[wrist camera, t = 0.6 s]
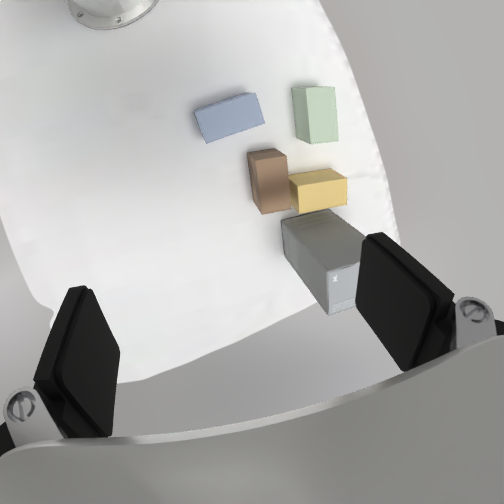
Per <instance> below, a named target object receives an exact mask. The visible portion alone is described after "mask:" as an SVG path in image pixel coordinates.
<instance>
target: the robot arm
mask: <svg viewBox="0 0 504 504" xmlns="http://www.w3.org/2000/svg"><path fill="white" fill-rule="evenodd" d="M157 2H158V0H68V4H69V9H70V11H71V13H72V15H73V17H74V18H75V19H76V20H77V21H78V22H80V23H81V24H83V25H85V26H87V27H89V28H93V29H101V30H106V29H114V28H118V27H122V26H125V25H127V24H130V23H132V22H134V21H136V20H137V19H139V18H141V17H142V16H143V15H145V14H146V13H147V12H149V11H150V10H151V9H152V8H153V7H154V6H155V4H156V3H157ZM81 15H83V16H82V17H81ZM119 20H121V22H120V23H118V21H119ZM453 297H454V293H453V292H452V291H451V290H450V289H448V288H447V287H446V286H445V285H444V284H443V283H442V282H441V281H439V279H437V278H436V277H435V276H434V275H433V274H432V273H431V272H429V271H428V270H427V269H426V268H425V267H424V266H423V265H422V264H420V263H419V262H418V261H417V260H416V259H415V258H413V257H412V256H411V255H410V254H409V253H407V252H406V251H405V250H404V249H403V248H402V247H400V246H399V245H398V244H397V243H396V242H394V241H393V240H392V239H391V238H389V237H388V236H387V235H386V234H385V233H383V232H379V233H374V234H368V235H367V236H366V238H365V239H364V240H363V241H362V247H361V257H360V266H359V274H358V282H357V289H356V296H355V304H356V307H357V309H358V311H359V312H360V313H361V315H362V316H363V317H364V319H365V320H366V322H367V323H368V324H369V326H370V327H371V328H372V330H373V331H374V333H375V334H376V335H377V337H378V338H379V340H380V341H381V342H382V344H383V345H384V347H385V348H386V349H387V351H388V352H389V354H390V355H391V356H392V358H393V359H394V361H395V362H396V364H397V365H398V367H399V368H400V369H401V370H402V371H404V373H402V374H399V375H397V376H395V377H392V378H390V379H387V380H385V381H383V382H380V383H377V384H374V385H372V386H369V387H366V388H363V389H361V390H358V391H355V392H352V393H349V394H346V395H343V396H340V397H337V398H334V399H331V400H328V401H324V402H321V403H318V404H314V405H311V406H307V407H304V408H300V409H297V410H293V411H289V412H285V413H281V414H277V415H273V416H269V417H265V418H260V419H256V420H251V421H246V422H241V423H236V424H231V425H224V426H219V427H213V428H206V429H200V430H193V431H185V432H177V433H168V434H157V435H145V436H129V437H109V438H108V436H111V435H112V429H113V416H114V404H115V394H116V384H117V376H118V368H119V360H120V350H119V346H118V344H117V342H116V340H115V338H114V336H113V334H112V332H111V330H110V328H109V326H108V324H107V321H106V319H105V317H104V315H103V313H102V311H101V308H100V306H99V304H98V302H97V299H96V297H95V295H94V292H93V290H92V289H88V288H87V287H86V286H85V285H83V286H77V287H72V288H69V290H68V292H67V294H66V296H65V298H64V300H63V303H62V305H61V307H60V310H59V312H58V314H57V317H56V319H55V321H54V324H53V326H52V329H51V331H50V334H49V337H48V339H47V342H46V344H45V347H44V350H43V352H42V355H41V358H40V361H39V364H38V367H37V370H36V373H35V376H34V379H33V380H34V382H35V385H34V388H31V387H22V388H19V389H17V390H15V391H14V392H13V393H11V394H10V395H9V397H8V398H7V400H6V402H5V404H4V409H3V415H4V419H5V422H4V423H3V424H2V425H1V426H0V504H504V322H502V321H499V320H495V319H494V316H493V312H492V310H491V308H490V307H489V306H488V305H487V304H486V303H485V302H483V301H482V300H480V299H477V298H474V297H463V298H461V299H459V300H458V301H457V303H456V304H455V303H454V302H453V301H452V300H453ZM405 371H406V372H405Z"/></svg>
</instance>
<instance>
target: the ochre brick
mask: <svg viewBox="0 0 504 504" xmlns="http://www.w3.org/2000/svg"><path fill="white" fill-rule="evenodd" d="M288 178H289V190H290V202H291V205H292V206H293V207H294V208H295V209H296V210H297V212H298V213H299V214H301V213H306V212H311V211H316V210H321V209H327V208H332V207H337V206H342V205H347V178H346V177H344V176H343V175H341V174H339V173H338V172H336V171H334V170H332V169H325V170H318V171H311V172H305V173H299V174H292V175H288Z"/></svg>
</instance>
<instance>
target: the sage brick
mask: <svg viewBox="0 0 504 504" xmlns="http://www.w3.org/2000/svg"><path fill="white" fill-rule="evenodd" d="M292 97H293V106H294V116H295V126H296V137H297V138H298V139H300V140H302V141H304V142H307V143H309V144H318V143H327V142H336V141H338V125H337V110H336V97H335V87H300V88H292Z"/></svg>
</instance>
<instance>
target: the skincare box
mask: <svg viewBox="0 0 504 504" xmlns="http://www.w3.org/2000/svg"><path fill="white" fill-rule="evenodd" d="M281 224H282V233H283V242H284V251H285V257H286V259H287V260H288V262H289V263H290V264H291V266H292V267H293V268H294V270H295V271H296V272H297V274H298V275H299V277H300V278H301V279H302V281H303V282H304V283H305V285H306V286H307V287H308V289H309V290H310V292H311V293H312V294H313V296H314V297H315V298H316V300H317V301H318V303H319V304H320V305H321V307H322V308H323V309H324V311H325V312H326V314H327V315H328V316H329V315H333V314H336V313H339V312H341V311H344V310H347V309H350V308H353V307H356V304H355V296H356V289H357V282H358V274H359V266H360V257H361V247H362V241H363V240H364V239H365V238H366V236H364V235H363V234H362V233H360V232H359V231H358V230H356V229H355V228H354V227H352V226H351V225H350V224H348V223H347V222H346V221H344V220H343V219H342V218H340V217H339V216H338V215H336V214H335V213H333V212H332V211H331V210H330V209H328V210H324V211H319V212H315V213H311V214H307V215H302V216H298V217H294V218H290V219H286V220H282V221H281Z"/></svg>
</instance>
